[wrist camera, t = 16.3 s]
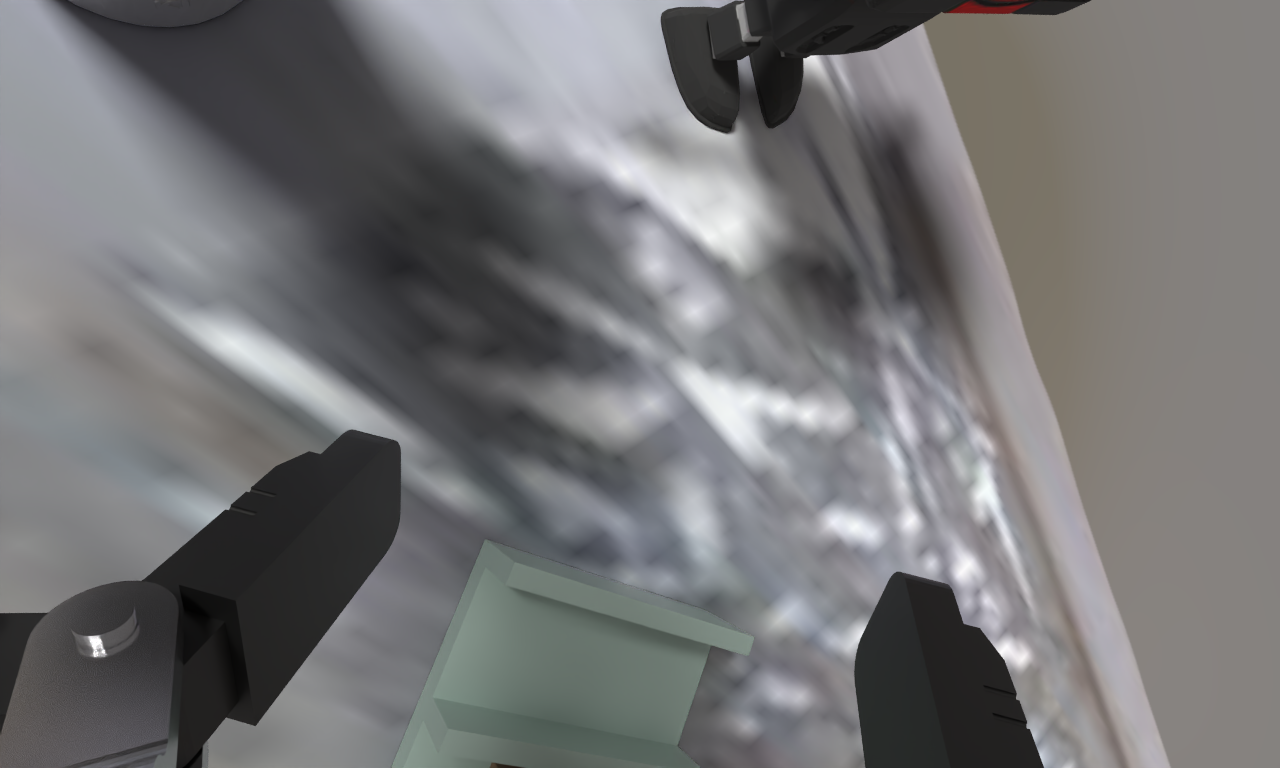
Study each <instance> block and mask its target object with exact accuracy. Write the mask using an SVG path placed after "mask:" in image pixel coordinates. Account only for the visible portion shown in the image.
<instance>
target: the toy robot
mask: <svg viewBox="0 0 1280 768" xmlns="http://www.w3.org/2000/svg"><path fill="white" fill-rule="evenodd" d="M1089 1H1091V0H744V1H734V2H732V3H729V4H727V5H725V6H723V7H721V8H712V7H677V8H672V9H668V10H666V11H664V12H663V13H662V16H661V24H662V30H663V34H664V38H665V42H666V46H667V50H668V54H669V58H670V63H671V67H672V70H673V73H674V76H675V79H676V82H677V85H678V88H679V90H680V93H681V95H682V97H683V99H684V101H685V103H686V105H687V107H688V108H689V109H690V110H691V112H692V113H693V114H694V115H695V117H696V118H697V119H699V120H700V121H701V122H703V123H704V124H705V125H707V126H709V127H711V128H714V129H716V130H720V131H723V132H729V131H731V129H732V125H733V122H734V121H735V120H736V117H737V114H738V111H739V96H740V92H739V78H738V65H737V60H741V59H743V58H744V57H746V56H748V55H749V56H750V61H751V66H752V71H753V75H754V80H755V84H756V88H757V93H758V97H759V102H760V106H761V110H762V114H763V117H764V120H765V123H766V125H767V126H768V128H774V127H776V126H778V125H779V124H781V123H783V122H784V121H785V120H787V119H788V117H789V116H790V115H791V113H792V112H793V111H794V108H795V106H796V103H797V100H798V96H799V94H800V91H801V86H802V79H803V58H807V57H809V56H810V55H840V54H848V53H855V52H861V51H868V50H874V49H877V48H879V47H881V46H883V45H885V44H886V43H888V42H890V41H892V40H894V39H895V38H897V37H899V36H901V35H903V34H904V33H906V32H908V31H910V30H912V29H913V28H915V27H917V26H919V25H921V24H922V23H924V22H926V21H928V20H930V19H931V18H933V17H934V16H936V15H938V14H939V13H941V12H943V13H983V14H984V13H986V14H1009V13H1013V14H1033V15H1037V14H1038V15H1057V14H1060V13H1063V12H1066V11H1069V10H1071V9H1073V8H1075V7H1077V6H1080V5H1082V4H1084V3H1087V2H1089Z"/></svg>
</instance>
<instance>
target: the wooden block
mask: <svg viewBox="0 0 1280 768" xmlns="http://www.w3.org/2000/svg"><path fill="white" fill-rule="evenodd" d="M490 768H524V767H518V766H512V765H505V764H499V763H493V762H492V763H491V766H490Z"/></svg>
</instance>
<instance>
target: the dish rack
mask: <svg viewBox="0 0 1280 768" xmlns="http://www.w3.org/2000/svg"><path fill="white" fill-rule="evenodd" d="M754 638H755V637H754V636H752V635H750V634H748V633H746V632H745V631H743V630H741V629H739V628H737V627H736V626H734V625H732V624H730V623H728V622H726V621H725V620H723V619H721V618H719V617H717V616H716V615H714V614H712V613H710V612H708V611H706V610H704V609H701V608H698V607H695V606H692V605H689V604H685V603H682V602H679V601H676V600H673V599H670V598H667V597H664V596H661V595H657V594H654V593H651V592H648V591H645V590H642V589H639V588H636V587H633V586H630V585H626V584H623V583H620V582H617V581H614V580H611V579H608V578H605V577H602V576H599V575H595V574H592V573H589V572H586V571H583V570H580V569H577V568H574V567H571V566H568V565H564V564H561V563H558V562H555V561H552V560H549V559H546V558H543V557H540V556H537V555H533V554H530V553H527V552H524V551H521V550H518V549H515V548H512V547H509V546H505V545H502V544H499V543H496V542H493V541H490V540H487V539H485V540H484V543H483V545H482V548H481V550H480V553H479V555H478V557H477V560H476V562H475V565H474V567H473V570H472V572H471V575H470V577H469V579H468V582H467V584H466V587H465V589H464V592H463V594H462V596H461V599H460V601H459V604H458V606H457V609H456V611H455V613H454V616H453V618H452V621H451V623H450V626H449V628H448V630H447V633H446V635H445V638H444V640H443V643H442V645H441V648H440V650H439V652H438V655H437V657H436V660H435V662H434V665H433V667H432V669H431V672H430V674H429V677H428V679H427V682H426V684H425V686H424V689H423V691H422V694H421V696H420V699H419V701H418V703H417V706H416V708H415V711H414V713H413V716H412V718H411V721H410V723H409V725H408V728H407V730H406V733H405V735H404V738H403V740H402V742H401V745H400V747H399V750H398V752H397V755H396V757H395V759H394V762H393V764H392V767H391V768H490V766H491V763H492V762H493V763H499V764H505V765H512V766H518V767H524V768H701V767H700V766H699V765H697V764H696V763H695V762H694V761H693V760H692V759H691V758H690V757H689V756H688V755H687V754H686V753H684V752H683V751H682V750H681V749H680V748H679V747H678V743H679V740H680V737H681V734H682V731H683V728H684V725H685V722H686V719H687V716H688V713H689V710H690V707H691V704H692V701H693V698H694V696H695V693H696V690H697V687H698V684H699V681H700V678H701V675H702V672H703V669H704V666H705V663H706V660H707V657H708V654H709V651H710V648H711V645H712V646H715V647H719V648H722V649H725V650H729V651H732V652H736V653H739V654H743V655H746V656H749V653H750V650H751V647H752V644H753V641H754Z"/></svg>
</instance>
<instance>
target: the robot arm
mask: <svg viewBox="0 0 1280 768" xmlns="http://www.w3.org/2000/svg"><path fill="white" fill-rule="evenodd" d="M68 1H70V2H72V3H73V4H75V5H77V6H79V7H82V8H84V9H87V10H89V11H92V12H94V13H97V14H99V15H102V16H104V17H107V18H109V19H114V20H118V21H123V22H127V23H131V24H136V25H140V26H156V27H177V26H184V25H192V24H199V23H201V22H204V21H207V20H209V19H212V18H215V17H218V16H220V15H223V14H224V13H226V12H227V11H228V10H230V9H231V8H233V7H234V6H236V5H237V4H239V3H240V2H241V1H242V0H68ZM400 498H401V450H400V446H399V443H398V442H397V441H395V440H391V439H387V438H383V437H380V436H376V435H372V434H368V433H364V432H360V431H356V430H348V431H346V432H345V433H344V434H342V435H341V436H340V437H339V438H338V439H337V440H336V441H335V442H334V443H333V444H331V445H330V446H329V447H328V448H327V449H326V450H325V451H324V452H323V453H322V454H317V453H313V452H307V453H305V454H302V455H300V456H298V457H296V458H293V459H291V460H289V461H287V462H284V463H282V464H280V465H278V466H276V467H275V468H273V469H272V470H271V471H270V472H269V473H268V474H266V475H265V476H264V477H263V478H262V479H261V480H259V481H258V482H257V483H256V484H255V485H254V486H252V487H251V491H250V492H245V493H244V494H243V495H242V496H241V497H240V498H238V499H237V500H236V501H235V502H234V503H233V504H231V507H230V509H229V510H224V511H223V512H222V513H221V514H220V515H219V516H217V517H216V518H215V519H214V520H213V521H212V522H210V523H209V524H208V525H207V526H206V527H205V528H203V529H202V530H201V531H200V532H199V533H198V534H196V535H195V536H194V537H193V538H192V539H191V540H189V541H188V542H187V543H186V544H185V545H184V546H182V547H181V548H180V549H179V550H178V551H177V552H175V553H174V554H173V555H172V556H171V557H170V558H168V559H167V560H166V561H165V562H164V563H163V564H161V565H160V566H159V567H158V568H157V569H156V570H154V571H153V572H152V573H151V574H150V575H149V576H147V577H146V578H145V579H144V580H142V581H122V582H115V583H110V584H106V585H101V586H98V587H95V588H92V589H89V590H87V591H84V592H82V593H79V594H77V595H75V596H73V597H71V598H70V599H68V600H66V601H64V602H63V603H61V604H60V605H58V606H57V607H55V608H54V609H53V610H51V611H50V612H49V613H0V768H208V753H209V750H208V741H207V740H208V739H209V738H210V736H211V735H212V734H213V733H214V731H215V730H216V729H217V728H218V726H219V725H220V724H221V723H222V722H223V720H224V719H225V718H226V717H227V718H230V719H234V720H237V721H240V722H244V723H247V724H251V725H254V726H256V725H257V723H258V722H259V721H260V719H261V718H262V717H263V715H264V714H265V713H266V711H267V710H268V709H269V707H270V706H271V705H272V704H273V702H274V701H275V700H276V698H277V697H278V696H279V694H280V693H281V692H282V690H283V689H284V688H285V686H286V685H287V684H288V682H289V681H290V680H291V678H292V677H293V676H294V674H295V673H296V672H297V670H298V669H299V668H300V666H301V665H302V664H303V662H304V661H305V660H306V658H307V657H308V656H309V655H310V653H311V652H312V651H313V649H314V648H315V647H316V645H317V644H318V643H319V641H320V640H321V639H322V637H323V636H324V635H325V633H326V632H327V631H328V629H329V628H330V627H331V625H332V624H333V623H334V621H335V620H336V619H337V617H338V616H339V615H340V613H341V612H342V611H343V610H344V608H345V607H346V606H347V604H348V603H349V602H350V600H351V599H352V598H353V596H354V595H355V594H356V592H357V591H358V590H359V588H360V587H361V586H362V584H363V583H364V582H365V580H366V579H367V578H368V576H369V575H370V574H371V572H372V571H373V570H374V568H375V567H376V566H377V565H378V563H379V562H380V561H381V559H382V558H383V557H384V555H385V554H386V552H387V551H388V549H389V548H390V546H391V544H392V542H393V540H394V538H395V535H396V532H397V529H398V525H399V521H400ZM854 675H855V687H856V695H857V703H858V711H859V719H860V727H861V735H862V743H863V751H864V759H865V767H866V768H1044V766H1043V764H1042V761H1041V758H1040V756H1039V753H1038V750H1037V747H1036V745H1035V742H1034V739H1033V737H1032V734H1031V731H1030V729H1027V728H1026V724H1027V720H1026V718H1025V715H1024V712H1023V709H1022V707H1021V704H1020V701H1019V700H1016V694H1017V693H1016V690H1015V688H1014V685H1013V682H1012V680H1011V677H1010V674H1009V672H1008V669H1007V666H1006V663H1005V661H1004V659H1003V658H1002V657H1001V655H1000V654H999V653H998V651H997V650H996V649H995V648H994V646H993V645H992V644H991V642H990V641H989V640H988V638H987V637H986V636H985V634H984V633H983V632H982V631H981V629H980V628H977V627H973V626H969V625H966V624H963V621H962V618H961V614H960V611H959V608H958V605H957V602H956V599H955V596H954V593H953V591H952V589H951V587H950V586H949V585H948V584H945V583H941V582H937V581H933V580H929V579H926V578H922V577H918V576H914V575H910V574H906V573H902V572H896V573H894V574H893V575H892V576H891V578H890V579H889V581H888V583H887V585H886V587H885V589H884V591H883V594H882V596H881V598H880V600H879V602H878V604H877V606H876V608H875V610H874V612H873V614H872V616H871V618H870V620H869V622H868V625H867V627H866V629H865V631H864V633H863V635H862V637H861V639H860V642H859V645H858V649H857V653H856V659H855V671H854Z"/></svg>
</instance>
